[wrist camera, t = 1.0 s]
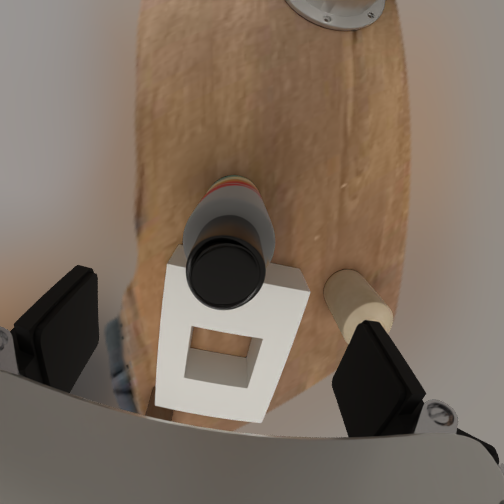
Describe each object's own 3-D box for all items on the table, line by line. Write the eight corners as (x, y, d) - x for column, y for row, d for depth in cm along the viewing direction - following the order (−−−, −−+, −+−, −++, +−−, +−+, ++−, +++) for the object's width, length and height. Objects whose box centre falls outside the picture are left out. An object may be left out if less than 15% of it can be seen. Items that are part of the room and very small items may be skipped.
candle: (372, 279, 37) (408, 320, 27) (349, 314, 38) (376, 362, 29) (338, 261, 36) (369, 301, 26) (314, 299, 37) (336, 347, 28)
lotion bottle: (222, 165, 32) (194, 193, 13) (270, 189, 33) (311, 252, 14) (198, 212, 33) (146, 300, 14) (245, 235, 34) (251, 346, 15)
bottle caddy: (178, 244, 34) (167, 263, 29) (299, 268, 36) (310, 291, 30) (163, 375, 40) (154, 405, 35) (259, 392, 42) (261, 422, 36)
